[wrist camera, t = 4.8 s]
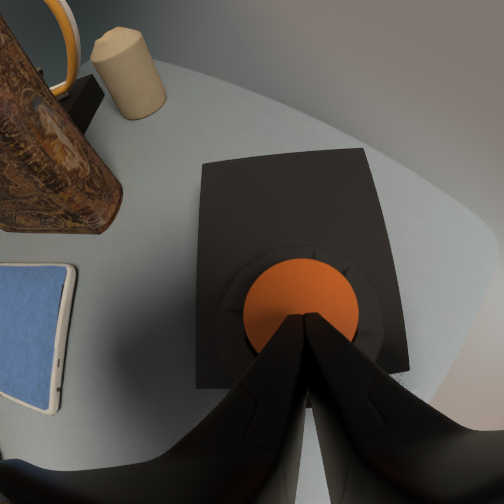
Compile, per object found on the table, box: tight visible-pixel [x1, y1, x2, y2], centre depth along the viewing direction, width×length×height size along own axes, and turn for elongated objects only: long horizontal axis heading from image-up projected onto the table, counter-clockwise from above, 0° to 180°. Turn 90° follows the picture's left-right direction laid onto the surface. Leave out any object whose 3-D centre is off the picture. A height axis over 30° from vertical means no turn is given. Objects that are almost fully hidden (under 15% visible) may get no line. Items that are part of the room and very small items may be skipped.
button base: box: [196, 148, 410, 408], centre depth 17 cm, size 14×10×7 cm
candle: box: [90, 27, 167, 120], centre depth 27 cm, size 6×6×10 cm
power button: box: [243, 258, 359, 353], centre depth 12 cm, size 4×4×2 cm
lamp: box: [43, 0, 104, 134], centre depth 18 cm, size 17×9×32 cm, turn 87°
